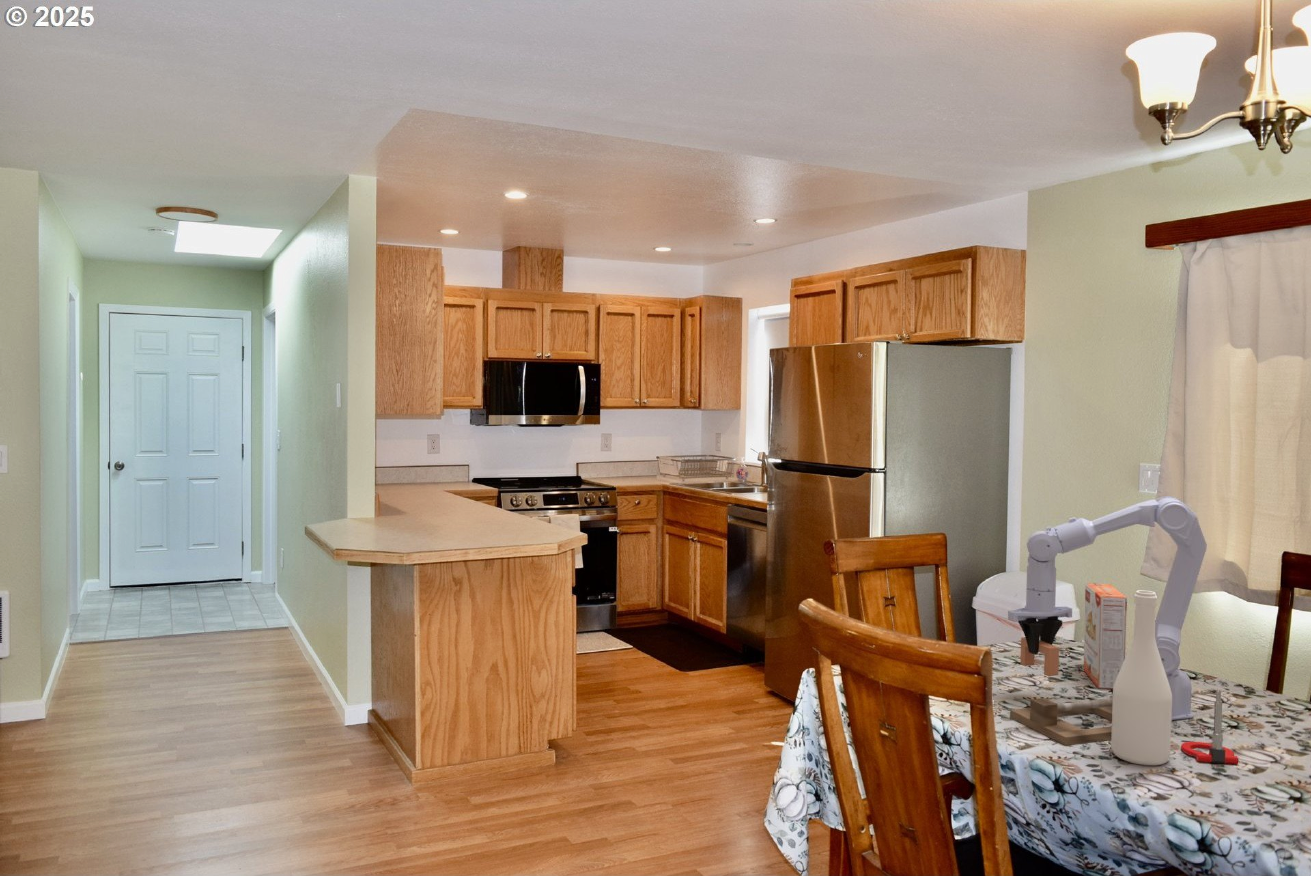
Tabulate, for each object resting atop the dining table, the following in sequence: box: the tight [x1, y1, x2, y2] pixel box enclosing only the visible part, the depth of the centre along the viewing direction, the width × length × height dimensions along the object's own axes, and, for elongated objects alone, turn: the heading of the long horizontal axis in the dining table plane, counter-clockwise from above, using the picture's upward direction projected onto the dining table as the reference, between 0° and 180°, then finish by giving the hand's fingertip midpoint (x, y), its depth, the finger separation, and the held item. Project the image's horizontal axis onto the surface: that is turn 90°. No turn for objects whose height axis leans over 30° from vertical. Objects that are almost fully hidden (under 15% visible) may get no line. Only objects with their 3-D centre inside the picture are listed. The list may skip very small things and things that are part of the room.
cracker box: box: [1083, 582, 1128, 690], centre depth 222 cm, size 14×6×21 cm, turn 168°
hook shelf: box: [1009, 697, 1113, 746], centre depth 193 cm, size 24×16×6 cm, turn 107°
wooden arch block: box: [1020, 636, 1060, 677], centre depth 207 cm, size 2×9×6 cm, turn 17°
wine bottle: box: [1110, 589, 1172, 766], centre depth 176 cm, size 10×10×30 cm
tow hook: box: [1180, 689, 1239, 765], centre depth 178 cm, size 8×13×9 cm
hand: (1039, 652), depth 207 cm, fingers closed on wooden arch block, 2 cm apart
